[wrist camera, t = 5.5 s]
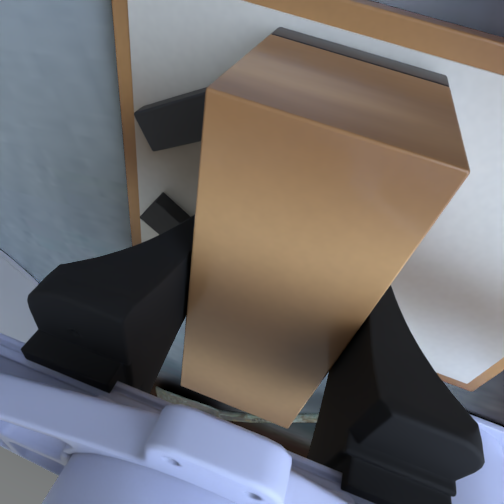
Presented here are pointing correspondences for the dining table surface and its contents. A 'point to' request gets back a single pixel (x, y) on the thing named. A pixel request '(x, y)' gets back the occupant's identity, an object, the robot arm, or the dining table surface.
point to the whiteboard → (372, 41)
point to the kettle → (15, 300)
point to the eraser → (307, 211)
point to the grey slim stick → (224, 413)
